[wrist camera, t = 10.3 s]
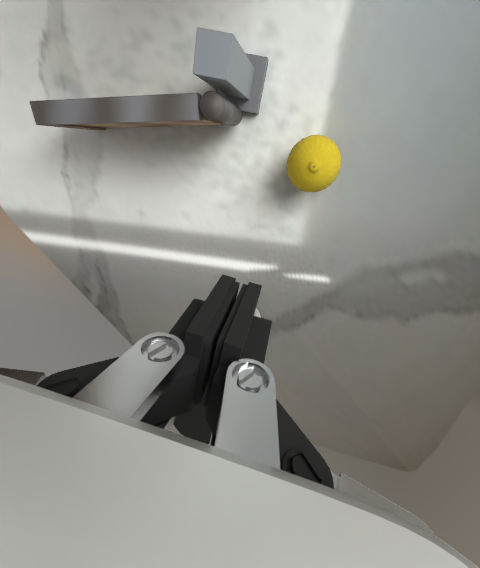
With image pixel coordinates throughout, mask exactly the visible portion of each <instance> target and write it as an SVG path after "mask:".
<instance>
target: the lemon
mask: <svg viewBox="0 0 480 568" xmlns="http://www.w3.org/2000/svg"><path fill="white" fill-rule="evenodd" d="M340 166H341V155H340V151H339V149H338V147H337V145H336V144H335V143H334V142H333V141H332V140H331V139H329V138H327V137H325V136H321V135H312V136H308V137H306V138H303V139H302V140H301V141H299V142H298V143H297V144H296V145H295V146H294V147H293V148H292V150H291V152H290V154H289V157H288V161H287V172H288V176H289V178H290V180H291V182H292V183H293V184H294V185H295V186H296V187H297V188H299V189H300V190H303V191H306V192H317V191H321V190H323V189H325V188H327V187H328V186H329V185H330V184H332V182H333V181H334V180H335V179H336V177H337V175H338V173H339V171H340Z"/></svg>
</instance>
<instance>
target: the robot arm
mask: <svg viewBox="0 0 480 568" xmlns="http://www.w3.org/2000/svg"><path fill="white" fill-rule="evenodd" d="M261 287H262V286H261V285H258V284H254V283H251V282H249V284H248V285H245V284H243V285H242V288H241V290H240V292H239V294H238V296H237V293H238V288H239V283H238V282H235V278H233V277H229V276H226V275H222V276H221V278H220V279H219V281H218V282H217V284H216V285H215V287H214V288H213V290H212V291H211V293H210V294H209V296H208V298H207V299H206V301H202V300H199V299H194V300H193V301H192V302H191V304H190V305H189V306H188V308H187V309H186V311H185V312H184V313H183V315H182V316H181V317H180V319H179V320H178V321H177V323H176V324H175V326H174V327H173V328H172V330H171V331H170V332H169V333H153V334H150V335H147V336H145V337H143V338H142V339H140V340H139V341H138V342H137V343H136V344H135V345H133V346H132V347H131V348H130V349H129V350H128V351H126V352H125V353H124V354H123V355H122V356H121V357H117V358H113V359H109V360H105V361H101V362H97V363H93V364H89V365H85V366H81V367H77V368H73V369H68V370H64V371H61V372H58V373H55V374H52V375H50V376H48V377H45V373H44V372H35V371H25V370H17V369H8V368H0V568H478V567H477V566H476V565H475V564H473V563H472V562H470V561H469V560H468V559H467V558H465V557H464V556H463V555H461V554H460V553H459V552H457V551H456V550H455V549H453V548H452V547H451V546H449V545H448V544H447V543H445V542H444V541H442V540H440V539H439V538H437V537H436V536H435V534H434V533H433V532H432V531H431V530H430V528H429V527H428V526H427V525H426V524H425V523H424V522H422V521H421V520H420V519H419V518H417V517H416V516H415V515H413V514H412V513H410V512H408V511H406V510H405V509H403V508H401V507H399V506H398V505H396V504H394V503H392V502H391V501H389V500H387V499H386V498H384V497H382V496H381V495H379V494H377V493H375V492H374V491H372V490H370V489H368V488H367V487H365V486H363V485H362V484H360V483H358V482H356V481H355V480H353V479H351V478H349V477H348V476H346V475H344V474H343V473H341V474H340V475H339V476H337V475H336V474H334V473H333V472H331V471H330V468H329V467H328V465H327V464H326V462H325V460H324V459H323V458H322V456H321V455H320V454H319V452H318V451H317V450H316V449H315V447H314V446H313V445H312V444H311V442H310V441H309V440H308V439H307V437H306V436H305V435H304V433H303V432H302V431H301V430H300V428H299V427H298V426H297V425H296V423H295V422H294V421H293V419H292V418H291V417H290V416H289V414H288V413H287V412H286V411H285V409H284V408H283V407H282V406H281V404H280V403H279V402H278V400H277V399H276V391H275V380H274V376H273V374H272V372H271V371H270V369H269V368H268V367H267V366H266V365H264V360H265V354H266V349H267V344H268V339H269V334H270V328H271V323H272V321H271V320H267V319H264V318H260V317H257V316H254V313H255V309H256V306H257V302H258V298H259V295H260V291H261ZM236 297H237V299H236ZM207 386H208V388H207ZM206 389H207V393H206V398H205V403H204V407H205V408H207V410H206V415H205V419H206V421H207V423H208V425H209V427H210V429H211V431H212V434H211V439H210V445H208V444H205V443H202V442H199V441H197V440H194V439H191V438H188V437H185V436H182V435H179V434H176V433H173V432H170V431H169V429H170V428H171V426H172V425H173V423H174V421H175V418H176V416H177V415H180V414H182V413H185V412H188V413H191V410H192V408H193V406H194V404H196V405H200V403H201V401H202V398H203V396H204V394H205V391H206Z"/></svg>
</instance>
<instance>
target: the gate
mask: <svg viewBox="0 0 480 568" xmlns="http://www.w3.org/2000/svg"><path fill="white" fill-rule="evenodd" d="M30 105H31V108H32V112H33V115H34V118H35V122H36V125H44V126H55V127H66V128H78V129H90V130H106V128H122V127H160V126H197V125H223V123H225V124H228V125H231V126H236V125H238V124H239V123H240V121H241V119H242V112H241V109H240V108H239V107H238V106H236V105H235V104H233V103H232V102H230V101H228V100H227V99H225V98H223V97H222V96H220V95H219V94H217V93H215V92H213V91H208V92H206V93H205V94H203V96H202V97H201V95H200V94H199V93H183V94H164V95H144V96H124V97H104V98H85V99H65V100H45V101H30Z"/></svg>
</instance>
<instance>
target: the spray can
mask: <svg viewBox="0 0 480 568" xmlns="http://www.w3.org/2000/svg"><path fill="white" fill-rule="evenodd" d="M254 316H257V317H260V318H261V316H260V313H259V311H258V309H257V308H256V309H255V313H254ZM207 388H208V386H207ZM206 393H207V389H206V391H205V394H204V396H203V398H202V401H201V403H200V405H196V404H194V406H193V408H192V410H191V413H188V412H185V413H182V414H180V415H177V416H176V418H175V421H174V423H173V424H174V426H175V427H176V429H177V430H178V431H179V432H180V433H181V434H182V435H183V436H185V437H188V438H191V439H194V440H197V441H199V442H202V443H206V444H210V439H211V434H212V431H211V429H210V427H209V425H208V423H207V421H206V419H205V415H206V410H207V408H205V407H204V403H205V398H206Z"/></svg>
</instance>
